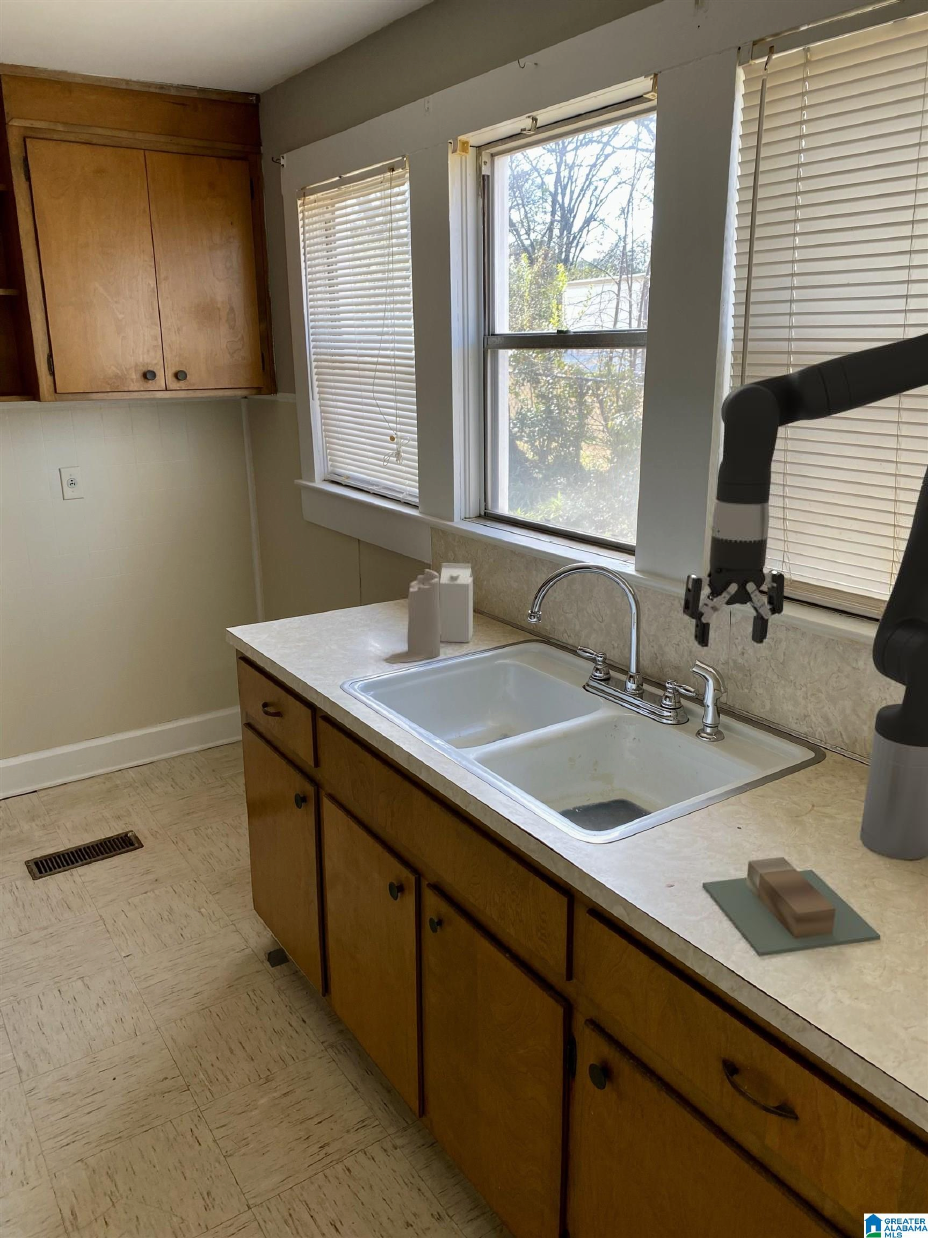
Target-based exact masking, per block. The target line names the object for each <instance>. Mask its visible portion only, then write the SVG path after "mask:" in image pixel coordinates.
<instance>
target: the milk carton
mask: <svg viewBox="0 0 928 1238" xmlns="http://www.w3.org/2000/svg"><path fill="white" fill-rule="evenodd" d="M473 579H474V575H473V571H472V564H471V563H444V562H442V563H441V572H440V578H439V602H440V642H444V643H445V642H451V643H470V640H471V639H472V636H473V634H474V626H473V625H474V623H473V622H474V621H473V620H474V619H473V618H474V616H473V615H474V612H473V611H474V606H473V605H474V598H473V597H474V596H473V595H474V593H473V591H474V583H473V582H474V580H473Z"/></svg>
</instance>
